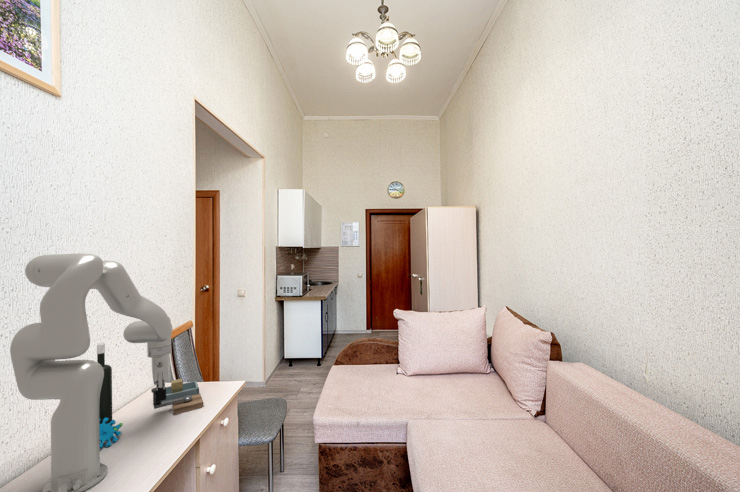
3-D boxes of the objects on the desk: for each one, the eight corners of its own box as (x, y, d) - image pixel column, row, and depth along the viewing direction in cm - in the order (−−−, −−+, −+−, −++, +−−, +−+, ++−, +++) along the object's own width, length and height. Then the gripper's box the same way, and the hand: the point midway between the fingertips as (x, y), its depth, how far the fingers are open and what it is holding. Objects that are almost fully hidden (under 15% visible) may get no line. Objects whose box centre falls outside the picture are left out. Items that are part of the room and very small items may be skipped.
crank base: (203, 407, 127) (203, 401, 127) (173, 415, 121) (173, 409, 121) (200, 398, 135) (200, 393, 135) (172, 405, 129) (172, 399, 130)
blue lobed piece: (92, 451, 97) (80, 422, 100) (81, 464, 97) (69, 435, 101) (130, 436, 107) (118, 411, 110) (119, 448, 108) (108, 422, 111)
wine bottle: (106, 434, 109) (105, 344, 110) (86, 437, 108) (85, 346, 109) (115, 425, 115) (114, 340, 116) (96, 428, 113) (96, 341, 114)
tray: (199, 396, 137) (198, 388, 137) (154, 407, 129) (154, 398, 129) (196, 388, 146) (196, 380, 146) (154, 397, 137) (154, 389, 137)
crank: (191, 397, 131) (191, 379, 131) (192, 400, 127) (192, 382, 128) (151, 406, 123) (151, 388, 124) (151, 410, 120) (151, 391, 121)
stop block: (182, 395, 137) (182, 381, 137) (171, 398, 134) (171, 383, 135) (182, 392, 140) (182, 378, 140) (171, 395, 138) (171, 380, 138)
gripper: (171, 353, 116) (173, 404, 116) (170, 343, 129) (172, 390, 129) (146, 357, 112) (148, 411, 112) (148, 347, 125) (149, 395, 125)
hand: (161, 399), depth 120 cm, fingers closed
